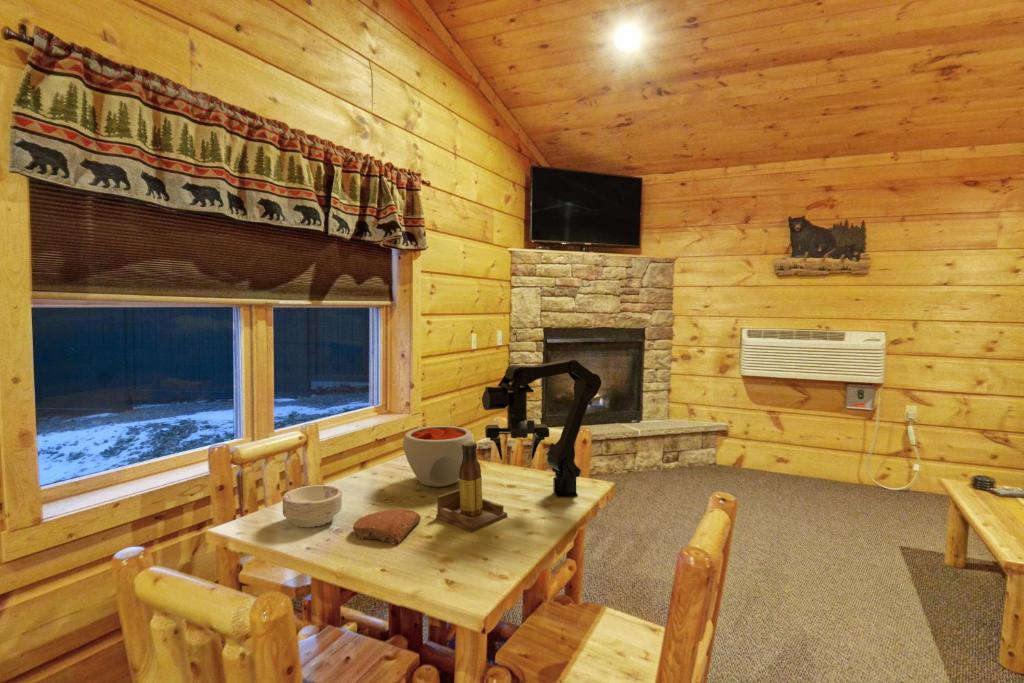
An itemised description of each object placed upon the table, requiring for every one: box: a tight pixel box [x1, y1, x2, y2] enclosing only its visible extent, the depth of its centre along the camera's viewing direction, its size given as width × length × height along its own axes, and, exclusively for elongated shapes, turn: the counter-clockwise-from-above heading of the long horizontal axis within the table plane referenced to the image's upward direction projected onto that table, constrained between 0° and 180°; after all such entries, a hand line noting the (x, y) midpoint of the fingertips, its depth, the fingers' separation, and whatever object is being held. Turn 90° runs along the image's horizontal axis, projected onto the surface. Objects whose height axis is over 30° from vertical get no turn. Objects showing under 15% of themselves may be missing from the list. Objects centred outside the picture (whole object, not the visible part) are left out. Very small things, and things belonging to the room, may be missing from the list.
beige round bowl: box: [282, 484, 343, 528], centre depth 147 cm, size 15×15×8 cm
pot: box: [402, 425, 475, 488], centre depth 179 cm, size 24×24×18 cm
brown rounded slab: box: [352, 509, 422, 545], centre depth 141 cm, size 15×6×15 cm
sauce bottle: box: [458, 441, 483, 516], centre depth 150 cm, size 6×6×20 cm
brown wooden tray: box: [435, 488, 508, 533], centre depth 150 cm, size 14×14×6 cm
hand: (516, 459), depth 161 cm, fingers open, 9 cm apart
